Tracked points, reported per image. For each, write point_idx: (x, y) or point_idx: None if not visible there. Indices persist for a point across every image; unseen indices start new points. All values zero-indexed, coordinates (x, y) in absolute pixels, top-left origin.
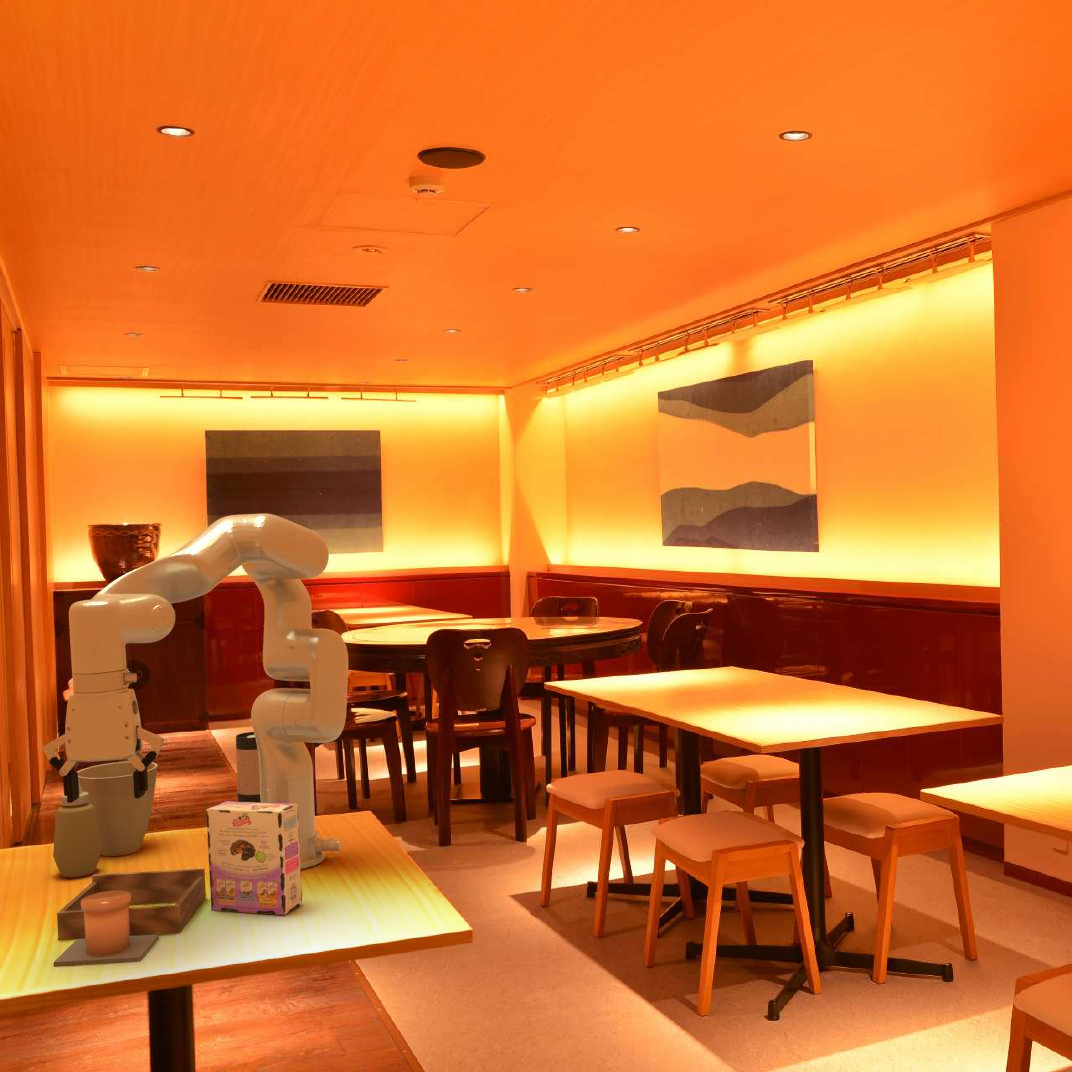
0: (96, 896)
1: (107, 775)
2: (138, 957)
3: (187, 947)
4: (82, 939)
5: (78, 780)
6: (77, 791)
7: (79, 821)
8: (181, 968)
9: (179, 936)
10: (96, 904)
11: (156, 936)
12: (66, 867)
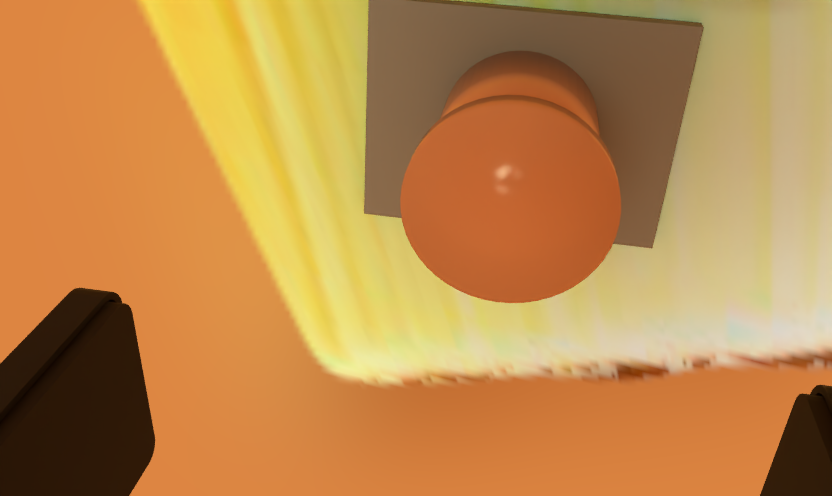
0: (456, 175)
1: None
2: (645, 245)
3: (818, 151)
4: (393, 6)
5: (22, 417)
6: (101, 382)
7: None
8: (792, 331)
9: (788, 14)
10: (486, 286)
11: (695, 48)
12: None
